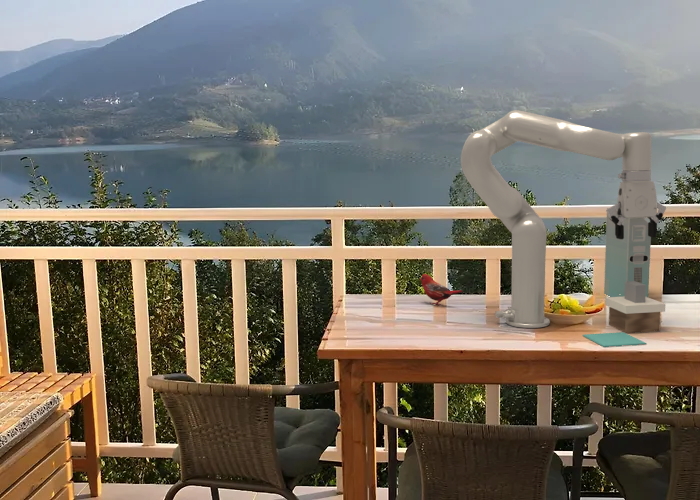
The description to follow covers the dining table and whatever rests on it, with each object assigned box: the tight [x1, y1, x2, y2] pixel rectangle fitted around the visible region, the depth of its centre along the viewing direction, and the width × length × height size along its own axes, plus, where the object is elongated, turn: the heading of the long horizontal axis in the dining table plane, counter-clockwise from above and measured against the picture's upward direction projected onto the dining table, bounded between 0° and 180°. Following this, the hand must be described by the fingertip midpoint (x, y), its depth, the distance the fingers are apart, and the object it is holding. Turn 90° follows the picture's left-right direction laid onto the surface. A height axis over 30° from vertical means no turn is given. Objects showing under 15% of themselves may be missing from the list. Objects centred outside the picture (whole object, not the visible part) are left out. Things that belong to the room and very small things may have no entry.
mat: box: [582, 331, 647, 348], centre depth 210 cm, size 12×12×1 cm
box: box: [608, 306, 661, 334], centre depth 223 cm, size 10×10×7 cm
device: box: [603, 207, 652, 298], centre depth 260 cm, size 16×8×30 cm, turn 7°
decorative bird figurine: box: [419, 273, 463, 306], centre depth 255 cm, size 3×18×10 cm, turn 46°
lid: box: [604, 281, 666, 314], centre depth 222 cm, size 12×12×7 cm
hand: (636, 237), depth 221 cm, fingers open, 9 cm apart
